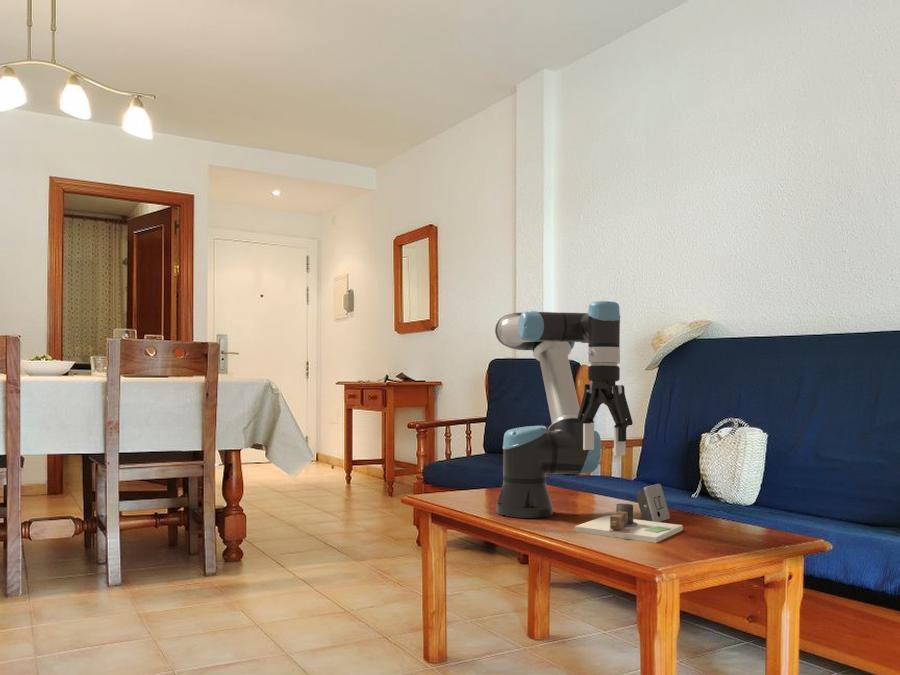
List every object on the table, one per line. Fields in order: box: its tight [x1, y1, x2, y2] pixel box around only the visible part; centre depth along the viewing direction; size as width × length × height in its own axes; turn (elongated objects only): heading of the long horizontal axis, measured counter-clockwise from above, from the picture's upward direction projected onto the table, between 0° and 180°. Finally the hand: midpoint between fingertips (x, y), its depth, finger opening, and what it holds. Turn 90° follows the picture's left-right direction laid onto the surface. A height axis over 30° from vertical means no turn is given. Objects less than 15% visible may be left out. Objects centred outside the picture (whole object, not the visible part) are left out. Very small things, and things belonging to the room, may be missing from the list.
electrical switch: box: [635, 483, 671, 523], centre depth 193 cm, size 9×5×9 cm, turn 141°
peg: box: [609, 502, 634, 530], centre depth 176 cm, size 14×4×4 cm, turn 154°
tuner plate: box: [574, 515, 684, 544], centre depth 178 cm, size 20×18×2 cm
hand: (603, 452), depth 179 cm, fingers open, 13 cm apart
